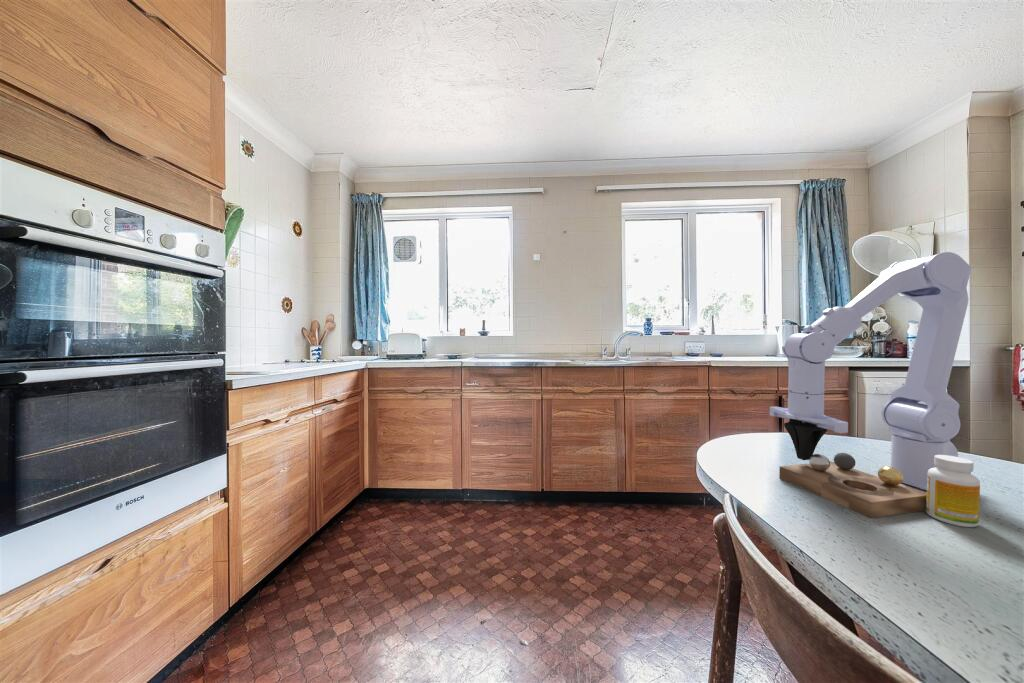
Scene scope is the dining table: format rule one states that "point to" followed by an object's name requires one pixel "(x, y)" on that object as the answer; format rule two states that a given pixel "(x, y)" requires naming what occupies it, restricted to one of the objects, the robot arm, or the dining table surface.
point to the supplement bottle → (953, 491)
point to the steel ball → (819, 462)
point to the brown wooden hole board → (855, 490)
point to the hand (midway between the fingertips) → (804, 458)
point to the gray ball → (844, 461)
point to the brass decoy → (890, 475)
